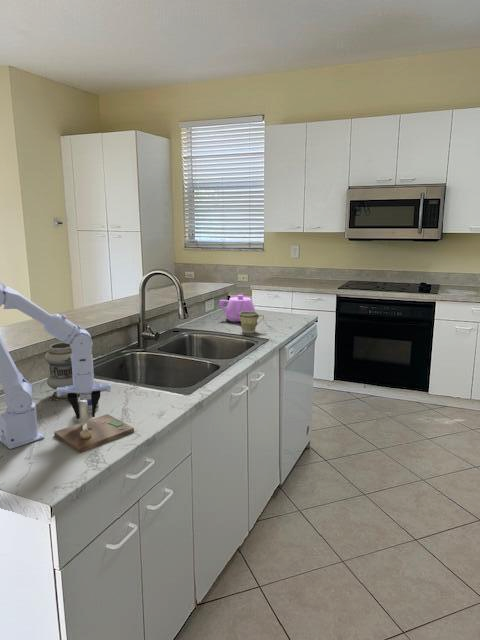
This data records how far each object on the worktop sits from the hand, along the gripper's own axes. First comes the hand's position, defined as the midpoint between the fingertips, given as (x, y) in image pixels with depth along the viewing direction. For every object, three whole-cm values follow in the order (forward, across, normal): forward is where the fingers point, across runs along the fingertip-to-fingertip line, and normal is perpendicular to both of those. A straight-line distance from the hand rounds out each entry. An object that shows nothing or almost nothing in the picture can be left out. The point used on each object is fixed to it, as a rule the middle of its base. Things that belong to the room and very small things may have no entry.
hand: (85, 416), depth 139 cm
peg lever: (+2, 0, +4) cm, 5 cm away
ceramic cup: (+4, -81, -100) cm, 129 cm away
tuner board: (+4, -2, +4) cm, 6 cm away
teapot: (+4, -83, -128) cm, 153 cm away
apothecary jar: (+4, +7, -30) cm, 31 cm away
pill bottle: (+4, -1, -15) cm, 15 cm away
